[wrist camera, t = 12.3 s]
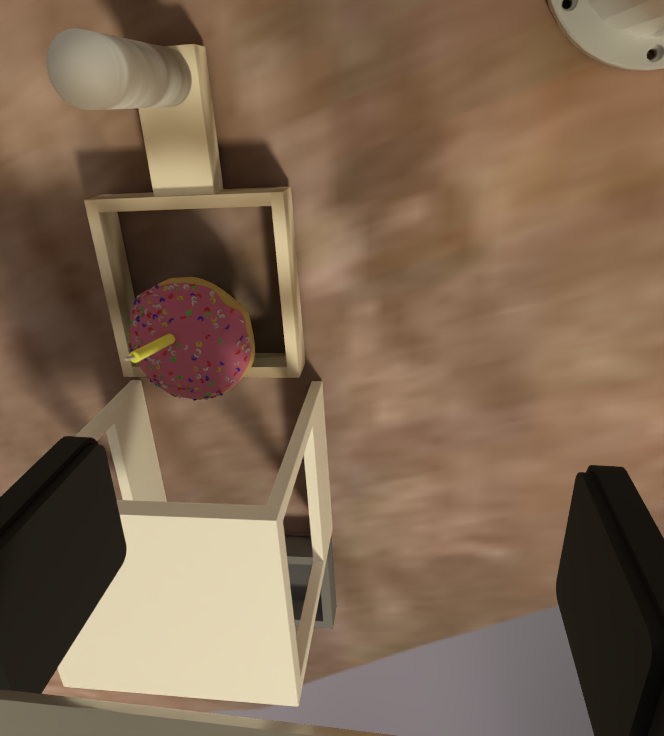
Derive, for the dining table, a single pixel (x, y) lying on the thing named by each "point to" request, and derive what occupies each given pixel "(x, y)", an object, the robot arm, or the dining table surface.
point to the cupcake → (191, 338)
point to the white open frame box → (203, 576)
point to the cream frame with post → (168, 167)
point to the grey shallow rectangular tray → (299, 579)
